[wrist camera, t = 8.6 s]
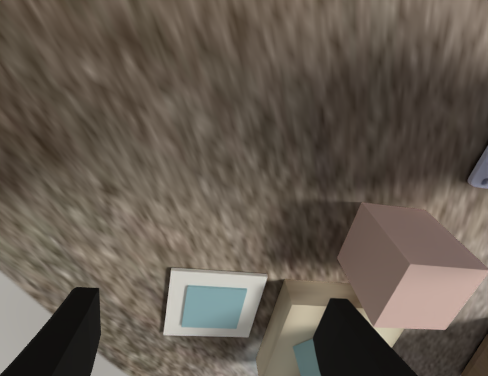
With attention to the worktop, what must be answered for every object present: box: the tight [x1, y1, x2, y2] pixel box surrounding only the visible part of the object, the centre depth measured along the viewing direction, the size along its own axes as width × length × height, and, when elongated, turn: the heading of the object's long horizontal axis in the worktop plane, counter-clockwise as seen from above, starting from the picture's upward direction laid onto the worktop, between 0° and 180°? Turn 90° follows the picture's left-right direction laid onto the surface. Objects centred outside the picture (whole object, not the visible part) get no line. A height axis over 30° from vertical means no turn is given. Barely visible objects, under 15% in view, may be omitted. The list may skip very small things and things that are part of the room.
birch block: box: [256, 279, 405, 376], centre depth 27 cm, size 10×10×3 cm
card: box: [163, 268, 267, 337], centre depth 25 cm, size 7×7×1 cm
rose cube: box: [337, 202, 488, 330], centre depth 21 cm, size 5×5×6 cm
